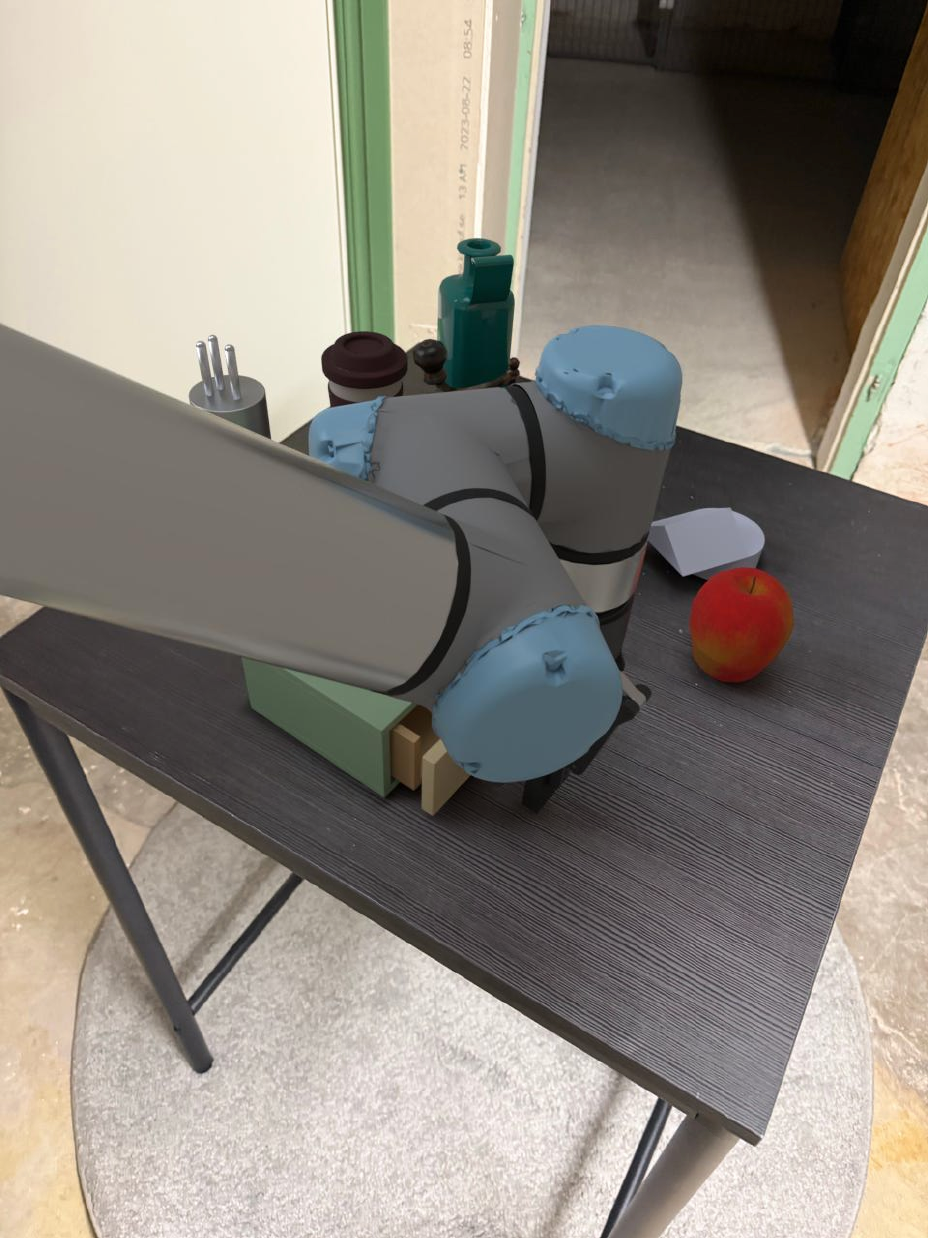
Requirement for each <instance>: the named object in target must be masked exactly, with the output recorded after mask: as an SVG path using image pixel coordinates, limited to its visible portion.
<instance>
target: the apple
mask: <svg viewBox="0 0 928 1238" xmlns="http://www.w3.org/2000/svg"><path fill="white" fill-rule="evenodd" d="M794 617H795V616H794V607H793V602H792V597H791V595H790V594H789V593H788V591H787V590H786V589H785V587H784V586H783V585H782V584H781V582H780V581H779V580H778V579H777V578H776V577H774V576H772V575H771V574H770V573H768V572H766V571H764V570H762V569H759V568H757V567H756V568H748V567H739V568H734V569H730V570H726V571H722V572H720V573H718V574H716V575H714V576H713V577H711V578H710V579H709V580H707V581H706V582H705V583H704V584H702V586H701V587H700V588H699V590H698V591H697V593H696V595H695V596H694V599H693V602H692V606H691V611H690V617H689V621H688V625H689V632H690V638H691V639H690V640H691V646H692V656H693V660H694V661H695V663H696V664H697V665H698V668H699V669H700V670H702V671H703V672H704V673H705V674H706V675H708V676H709V677H710V678H713V679H715V680H718V681H720V682H723V683H742V682H744V681H748V680H751V679H753V678H754V677H756V676H757V675H759V674H760V673H761V672H762V671H763V670H764V669H766V668H767V667H768V666H769V665H770V664H771V663H772V662H773V661H774V660H776V659H777V658H778V656H779V655H780V653H781V652H782V650H783V649H784V647H785V645H786V644H787V642H788V641H789V640H790V638H791V635H792V632H793V630H794V627H795V619H794Z"/></svg>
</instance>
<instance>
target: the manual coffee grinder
mask: <svg viewBox="0 0 928 1238" xmlns="http://www.w3.org/2000/svg"><path fill="white" fill-rule="evenodd" d="M447 356H448V351H447V349H446V348H445V346H444V345H443V343H442V342H441V341H438V340H437V339H433V338H428V339H424V340H422V341H421V342H419V343H418V344H416V345H415V347H413V351H412V358H413V362H414V364H415V365H416V366H418V367H419V368H420V369H421V370H422V371H423V373H424V374H423V382H424V383H425V384H427V385H429V386H435V387H436V386H437V388H439V389H440V390H442V391H443V392H453V391H463V390H474V389H484V388H495V387H500V386H501V385H503V384H505V383H507V382H508V386H510V385H512V384H515V383H517V381H518V380H517V379H518V378H519V377H520V375H521V372H520V370H519V368H520V364H521V361H520V360H519V358H518V357H515V356H511V357H510V360H509V361H508V363H509V369H508V370H507V372H506V374H504V375H502V376H501V377H498V378H496V379H495V380H493V381H490V382H487V383H484V384H480V385H476V386H473V387H469V388H453V387H451V386H449V385H448V384H447V383H445V380H446V379H447V377H448V374H447V372H446V371H445V369H444V367H443V365H444V363H445V361H446V359H447ZM500 388H501V387H500Z"/></svg>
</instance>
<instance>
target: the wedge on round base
mask: <svg viewBox="0 0 928 1238" xmlns="http://www.w3.org/2000/svg"><path fill="white" fill-rule="evenodd" d="M765 541H766V539H765V534H764V532H763V530H762V529H761V527H760V526H759V525H758V524H757V523H756V522H755V521H754V520H752V519H751V518H749V517H747V516H746V515H743V514H741V513H740V512H737V511H735V510H734V511H733V510H732V507H706V508H705V507H704V508H699V509H696V510H692V511H688V512H684V513H681V514H677V515H674V516H670V517H666V518H663V519H659V520H654V521H652V524H651V528H650V531H649V536H648V542H649V544H651V545H652V547H654V548H655V550H657V551H658V553H659V554H661V556H662V557H663V558H665V560H666V561H667V562H668V563H669V564H670V565H671V566H672V567H673V568H674V569H675V570H676V571H677V572H678V574H680V575H681V577H686V576H690V575H694V576H696V577H698V578H701V579H703V580H707V581H708V580H709V579H710V578H711V577H713V576H714V575H716V574H718V573H720V572H722V571H726V570H730V569H734V568H739V567H748V568H756V569H757V566H758V563H759V560H760V557H761V554H762V551H763V549H764V546H765Z"/></svg>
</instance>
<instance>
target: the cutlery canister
mask: <svg viewBox="0 0 928 1238" xmlns="http://www.w3.org/2000/svg"><path fill="white" fill-rule="evenodd" d="M207 342H208V348H209V353H210V359H211V360H210V361H211V366H212V371H213V372H212V371H211V367H210V361H209V355H208V349H207V345H206V342H204V341H203V340H199V341H197V342H196V344H195V347H196V348H195V349H196V354H197V358H198V364H199V370H200V375H201V381H199V382H198V383H196V384H194V385H193V386H192V387H191V388H190V389H189V391H188V401H189V404H190V405H192V406H195V407H197V408H199V409H201V410H204V411H206V412H208V413H211V414H213V415H215V416H218V417H220V418H222V419H225V420H227V421H229V422H231V423H234V424H236V425H238V426H241V427H243V428H245V429H248V430H250V431H252V432H255V433H257V434H259V435H262V436H264V437H266V438H268V439H271V440H272V434H271V433H272V432H271V426H270V417H269V411H268V403H267V402H268V401H267V396H266V395H267V394H266V389H265V387H264V385H263V384H262V383H261V381H259V380H257V379H255V378H253V377H251V376H246V375H241V374H239V370H238V365H237V364H238V363H237V357H236V349H235V347H234V345H232V344H230V343H228V344H226V345H225V346H224V353H225V360H226V367H227V373H228V374H224V371H223V363H222V357H221V351H220V345H219V339H218V337H217V336H216V335H215V334H210V335H209V336H208V337H207ZM211 372H212V373H213V376H212V373H211Z"/></svg>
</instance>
